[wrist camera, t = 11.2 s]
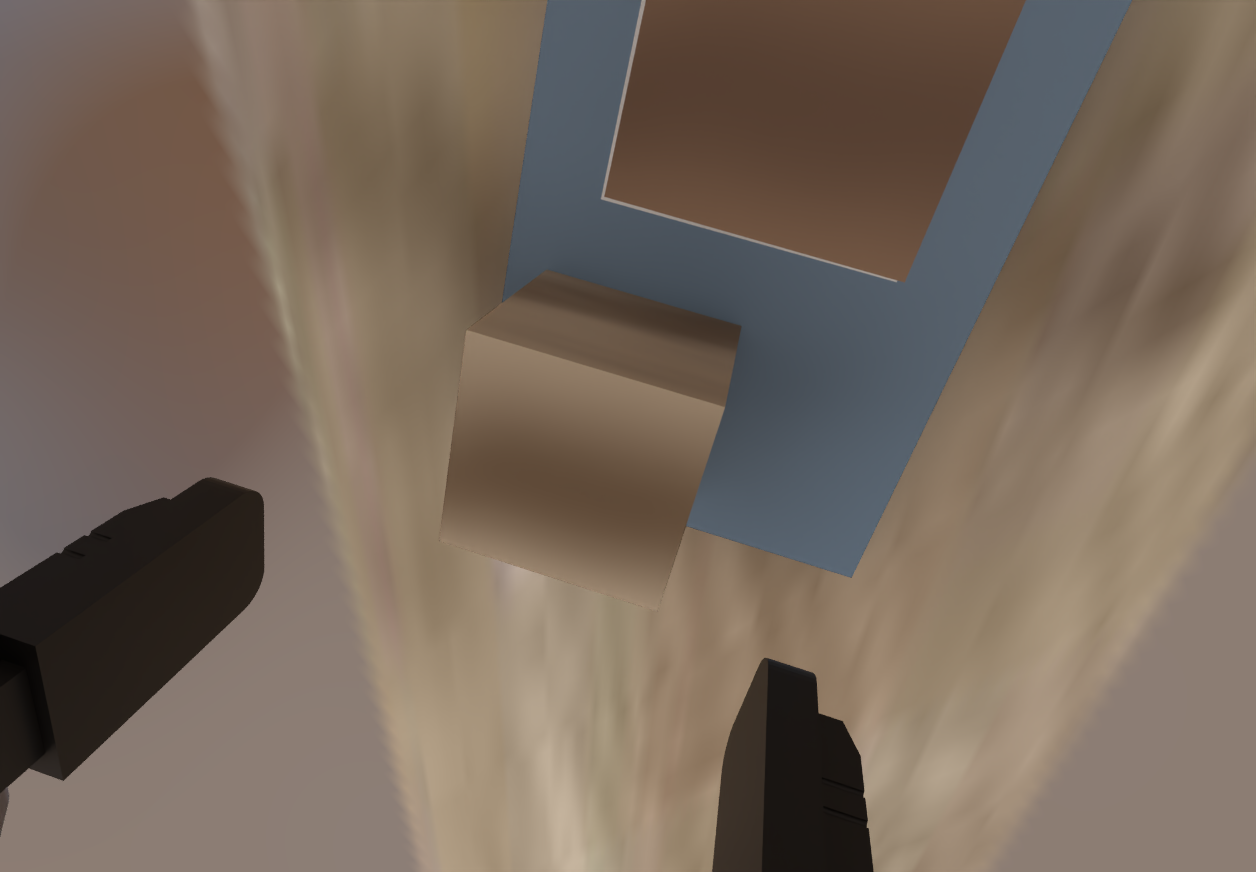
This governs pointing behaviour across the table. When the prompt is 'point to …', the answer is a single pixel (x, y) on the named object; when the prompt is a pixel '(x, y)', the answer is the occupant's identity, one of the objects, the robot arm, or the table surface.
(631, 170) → the walnut block
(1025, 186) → the board
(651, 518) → the maple block
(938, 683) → the table surface
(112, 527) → the robot arm
